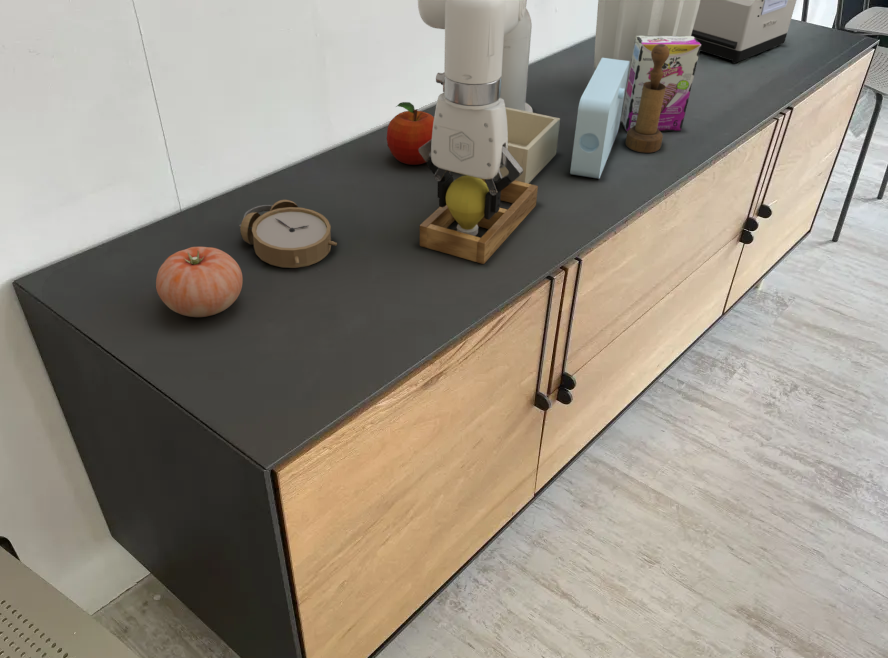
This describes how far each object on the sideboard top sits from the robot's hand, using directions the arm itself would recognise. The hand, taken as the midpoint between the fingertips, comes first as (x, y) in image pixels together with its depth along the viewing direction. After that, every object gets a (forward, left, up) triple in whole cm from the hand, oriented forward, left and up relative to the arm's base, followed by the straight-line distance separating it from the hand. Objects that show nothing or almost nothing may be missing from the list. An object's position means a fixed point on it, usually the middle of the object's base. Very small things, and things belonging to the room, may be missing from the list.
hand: (468, 208), depth 115 cm
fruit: (-20, +20, -5) cm, 29 cm away
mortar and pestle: (+14, +46, -5) cm, 48 cm away
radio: (+7, +39, -5) cm, 40 cm away
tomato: (-23, -32, -5) cm, 40 cm away
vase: (+5, +69, -5) cm, 69 cm away
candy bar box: (+13, +55, -5) cm, 56 cm away
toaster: (+13, +113, -5) cm, 114 cm away
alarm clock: (-23, -14, -5) cm, 28 cm away
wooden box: (-6, +27, -5) cm, 28 cm away
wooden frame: (0, +5, -5) cm, 7 cm away
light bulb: (0, 0, -5) cm, 5 cm away
